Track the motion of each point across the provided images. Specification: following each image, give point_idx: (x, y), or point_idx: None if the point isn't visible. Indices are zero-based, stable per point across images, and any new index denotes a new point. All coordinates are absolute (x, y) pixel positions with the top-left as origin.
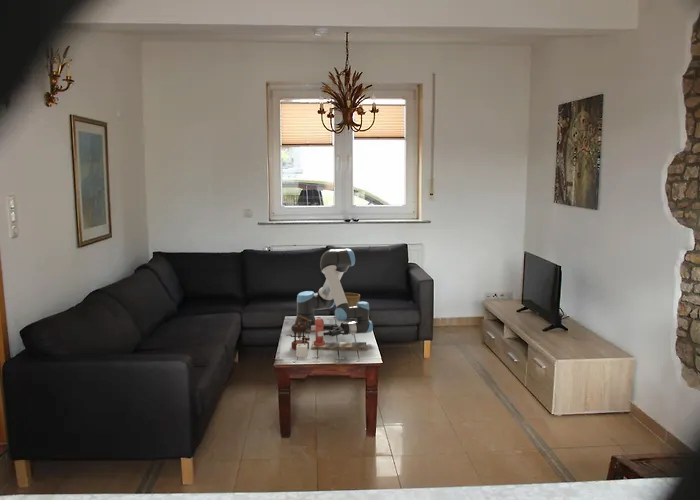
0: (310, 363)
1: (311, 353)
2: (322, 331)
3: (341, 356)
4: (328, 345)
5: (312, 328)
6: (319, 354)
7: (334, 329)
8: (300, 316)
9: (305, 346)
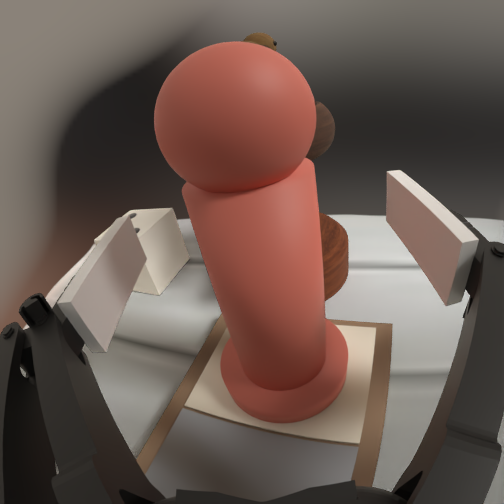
0: (51, 291)
1: (152, 313)
2: (100, 246)
3: None
4: (208, 443)
5: (391, 203)
6: (110, 347)
7: (71, 433)
8: (244, 39)
9: (101, 235)
